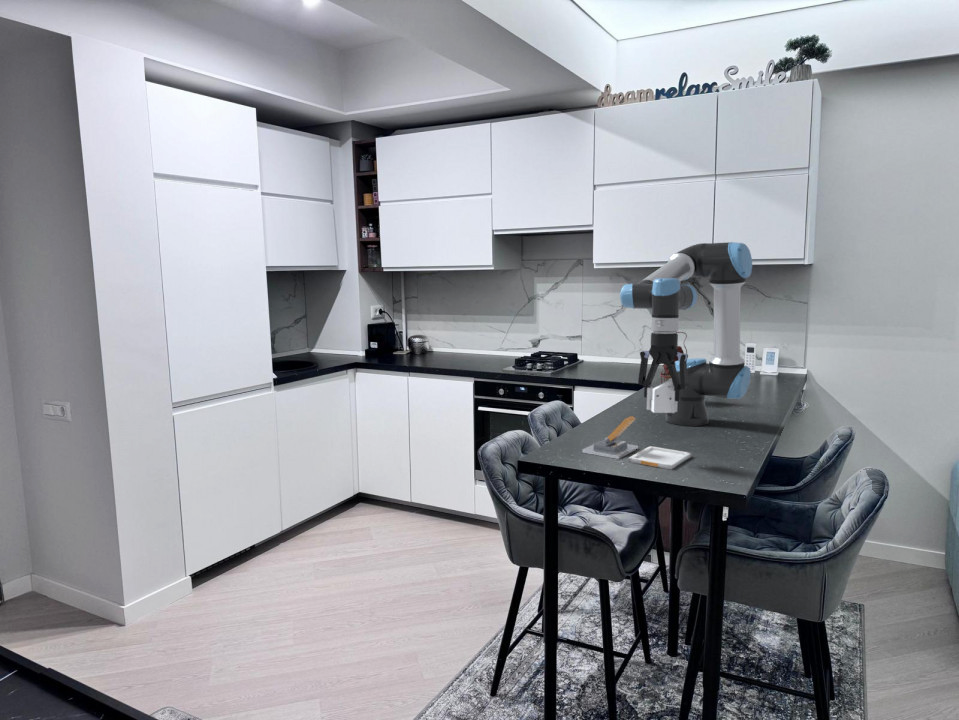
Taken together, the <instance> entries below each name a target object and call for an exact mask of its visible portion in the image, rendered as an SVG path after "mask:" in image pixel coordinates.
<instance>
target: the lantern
mask: <svg viewBox="0 0 959 720" xmlns="http://www.w3.org/2000/svg"><path fill="white" fill-rule="evenodd" d="M676 333H677V334H684V335H685V338H684V341H683V347H684V349H685V352H684V349H683V347H682V346H681V345H678V346H677V349H678V351H679V353H682V354H688V349H687V348H686V347H687V346H686V344H685V341H686V339H687V337H688V335H687V333H686V332H683V331H677V332H676ZM674 361H678V356H677V357H676V358H675V360H674ZM661 365H662V367H663V370H662V371H661V372H660V384H662V382H663V383H664V382H666V381H667V380H669V379H671V375H670V372H669V369H668V368H667V365H664V364H661ZM663 378H664V379H663Z"/></svg>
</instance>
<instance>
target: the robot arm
mask: <svg viewBox="0 0 959 720" xmlns="http://www.w3.org/2000/svg"><path fill="white" fill-rule="evenodd" d="M752 270H753V259H752V253H751V250H750V248H749V247H748V246H747V244H745V243H743V242H733V241H731V242H712V243H711V242H709V243H708V242H707V243H705V242H704V243H701V242H700V243H696V244H693V245H689V246H687V247H686V248H683V249H681V250H679V251H678V252H676V253H674V254H673V255H672V256H670V258H668V261H667V263H665V264H663V265H662V266H661V267H660V268H658V269H657V270H655V271H653V272H652V273H650V274H649V275H648V276H646V277H645V278H643V279H642V280H641V281H639V282H638V283H626V284H624V285H623V286H622V288H621V290H620V294H619V295H620V296H619V297H620V304H621V305H622V306H623V307H624V308H628V309H633V310H635V309H640V310H641V309H643V310H646V309H647V310H651V325H650V328H651V329H650V330H651V331H652V332H651V333H650V348H649V350H642V351H640V352H639V355H640V356H639V357H640V365H639V373H638V380H637V384H638V385H641V386H643V389H644V390H643V392H644V393H643V398H644V399H646V410H647V411H648V410H649V411H651V410H650V402H651V400H652V396H653V388H654V386H652V382H653V380H654V379H655V378H654V377H655V376H656V374H657V373H656V372H657V370H658V368H659V366H660V365H667V368H668V369H669V372H670V375H671V379H672V382H673V385H674V390H672V404H671V413H665V421H666V422H667V423H670V424H673V425H680V426H690V427H692V426H693V427H694V426H696V427H697V426H705V425H708V424H709V419H710V418H709V417H710V416H709V414H708V410H707V409H708V408H707V406H706V402H705V397H707V396H708V397H714V398H715V397H716V398H723V399H729V400H731V399H732V400H733V399H735V400H739V399H742V398H743V397H744V396H745V395H746V393H747V391H748V389H749V385H750V382H751V375H752V374H751V368H750V367H749V366H747V365H745V359H744V358H743V357H742V356H741V298H742V297H741V287H742V286H743V285H744V284H746V279H747V278H749V277H750V276H751V275H752ZM690 278H708V284H709V285H710V286H711V287H712V288H713V356H711V358H710V359H709V361H708V362H709V363H708V362H707V359H706V358H702V357H701V358H699V357H698V358H689V355H688V354H689V353H687V354H686V353H684V354H682V353H679V351H678V349H677V346H679V345H678V343H679V340H678V338H679V333H676V332H679V316H680V315H679V314H680V312H679V311H686V310H688V309H691V308H692V307H694V305H695V304H696V303H697V301H698V293H697V291H696V289H695V287H693V286H692V285H689V284H686V283H683V284H682V283H681V281H686V280H688V279H690ZM677 356H678V361H674V360H675V358H676V357H677ZM650 357H651V358H652V362H651V364H650V367H649V370H648V363H649V358H650ZM647 371H648V374H647Z"/></svg>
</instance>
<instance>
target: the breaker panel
mask: <svg viewBox="0 0 959 720" xmlns="http://www.w3.org/2000/svg"><path fill="white" fill-rule="evenodd" d="M604 440H605V438H604V439H602V440H600V441H597V442H595V443H593V444H591V445H589V446H587V447H585V448H582V453H583V454H588V455H589V454H590V455H594V456H601V457H605V458H611V459H617V460H619V459H621V458H623V457H625V456H628V455H629V454H631V453H632V452H633V453H634V451H637V450H638V449H639V445H635V444H629V443H628V441H625V440H620V439H619V440H618V439H617V440H615V441H613V442H611V443H609V444H606V443H605V442H604ZM636 449H637V450H636Z"/></svg>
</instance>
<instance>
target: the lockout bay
mask: <svg viewBox="0 0 959 720" xmlns="http://www.w3.org/2000/svg"><path fill="white" fill-rule="evenodd" d="M691 458H692V452H689V451H682V450H676V449H670V448H665V447H664V448H663V447H658V446H651V445H650V446H648V447H646V448H644V449H641V450H640V451H639V452H636V453H635V454H632V455H631V456H629V457H628V458H627V462H628V463H633V464H639V465H644V466H648V467H649V466H650V467H654V468H655V467H656V468H661V469H666V470H673V469H676V467H679V465H681V464H683V463H684V462H685V461H688V459H691Z"/></svg>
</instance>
